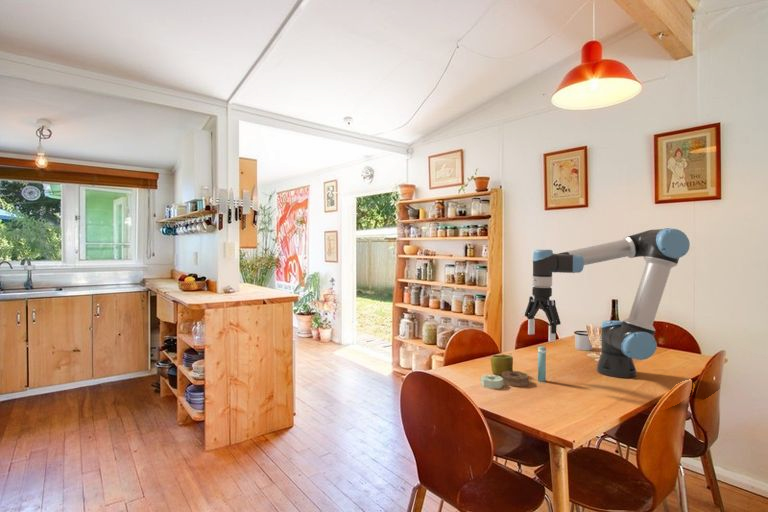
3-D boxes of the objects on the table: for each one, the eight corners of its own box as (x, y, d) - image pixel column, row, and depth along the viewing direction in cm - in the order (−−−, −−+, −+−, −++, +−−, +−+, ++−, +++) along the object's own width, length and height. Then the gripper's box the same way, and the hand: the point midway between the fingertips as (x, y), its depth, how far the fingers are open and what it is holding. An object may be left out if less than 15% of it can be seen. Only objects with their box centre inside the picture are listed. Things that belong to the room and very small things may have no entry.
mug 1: (518, 374, 170) (510, 351, 173) (494, 380, 172) (487, 357, 175) (517, 371, 182) (509, 349, 184) (494, 377, 184) (487, 355, 186)
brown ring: (526, 379, 170) (526, 371, 170) (528, 387, 160) (528, 379, 160) (501, 377, 173) (501, 370, 173) (502, 385, 163) (502, 377, 163)
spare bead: (497, 381, 168) (497, 374, 167) (505, 388, 160) (505, 380, 160) (478, 382, 167) (478, 375, 166) (486, 389, 159) (486, 381, 159)
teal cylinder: (545, 379, 170) (545, 346, 169) (546, 382, 167) (546, 348, 166) (537, 379, 170) (537, 346, 170) (538, 381, 167) (538, 348, 167)
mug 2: (587, 352, 214) (587, 335, 214) (570, 348, 222) (570, 332, 222) (598, 348, 221) (599, 332, 221) (581, 345, 229) (582, 329, 229)
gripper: (516, 284, 179) (516, 331, 179) (554, 290, 155) (553, 345, 155) (531, 283, 181) (531, 331, 181) (570, 289, 156) (569, 344, 157)
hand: (541, 337), depth 168 cm, fingers open, 13 cm apart
